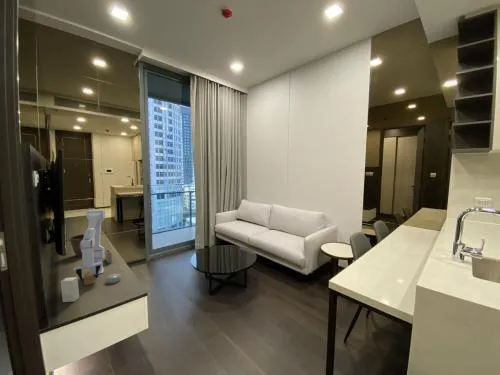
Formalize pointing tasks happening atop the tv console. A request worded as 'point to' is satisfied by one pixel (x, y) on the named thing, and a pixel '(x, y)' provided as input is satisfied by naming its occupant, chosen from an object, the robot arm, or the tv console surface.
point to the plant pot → (77, 244)
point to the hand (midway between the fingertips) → (89, 279)
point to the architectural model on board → (108, 256)
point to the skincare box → (70, 289)
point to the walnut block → (89, 278)
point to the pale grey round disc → (113, 278)
